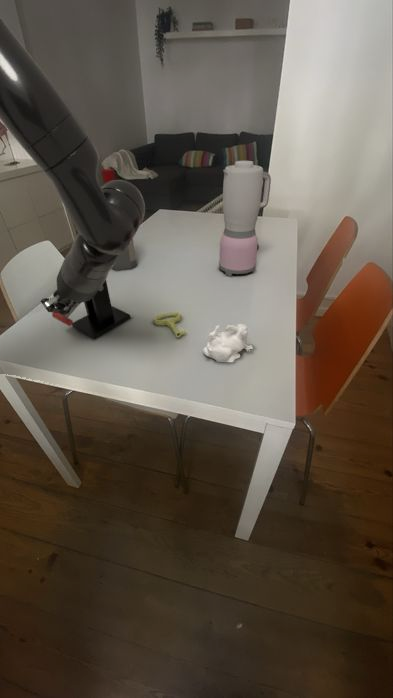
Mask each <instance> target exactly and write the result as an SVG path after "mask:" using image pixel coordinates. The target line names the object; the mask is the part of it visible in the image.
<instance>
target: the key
mask: <svg viewBox="0 0 393 698" xmlns="http://www.w3.org/2000/svg"><path fill="white" fill-rule="evenodd" d="M167 317H172V318H168V319H163V318H167ZM181 319H182V316H181V313H180V312H177V311H176V312H175V311H173V312H166V313H162V314H159V315H156V316H154V317H153V323H154V324H155V325H157V326H167V327H169V328H170V330H171V331H172V333H174V335H175V336H176V337H177V338H180V337H181V336H182V335H186V334H187V331H186V330H185V329H184V330H179V329H178V327H177V326H176V323H178V322H180V321H181Z"/></svg>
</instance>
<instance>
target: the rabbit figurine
mask: <svg viewBox="0 0 393 698" xmlns="http://www.w3.org/2000/svg"><path fill="white" fill-rule="evenodd" d="M218 329H220V325H219V324H218V325H216V326H215V328H214V330H213V331H210V332H209V334H208V339H209V341H207V343H206V346H204V347H203V348H202V352H203V353H202V354H204V355H205V356H206V357H208V358H211V359H213V360H214V361H216V362H217V363H234V362H235V360H237V359H239V358H241V354H240V353H239V352H241V351H242V350H245V351H246V352H247V353H248V352H251V350H254V348H253V346H252V345H251V344H250V345H248V344H247V338H248V335H249V331H248V326H247V325H246V324H244V323H238V324H236V325H233V324H227V326H226V328H225V331H220V330H219V331H218Z"/></svg>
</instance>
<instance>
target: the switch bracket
mask: <svg viewBox="0 0 393 698" xmlns="http://www.w3.org/2000/svg"><path fill="white" fill-rule="evenodd" d="M83 303H84V307H85V311H86V314H87V315H85V316H83V317H81V318H79V319H77V320H75V321H73V324H72V325H71V326H72V328H74V329H75V330H77V331H79V332H80V333H82V334H83V335H86V336H88V337H89V338H91V339H93V340H96V339H98V338H99V337H102V336H103V335H104V334H106V333H108V332H110V331H111V330H113V329H115V328H117V327H118V326H120V325H122V324H123V323H125V322H127V321H129V320H131V314H130V313H127V312H125V311H123V310H121V309H118V308H116V307H115V306H113V305H112V302H111V296H110V292H109V287H108V282H107V279H106V280H105V282H104V283H103V285H102V286H101V287H100V289H99V290H98V292H97V293H96V295H95V296H94V297H93V298H92V299H91V300H89V301H86V302H83Z"/></svg>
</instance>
